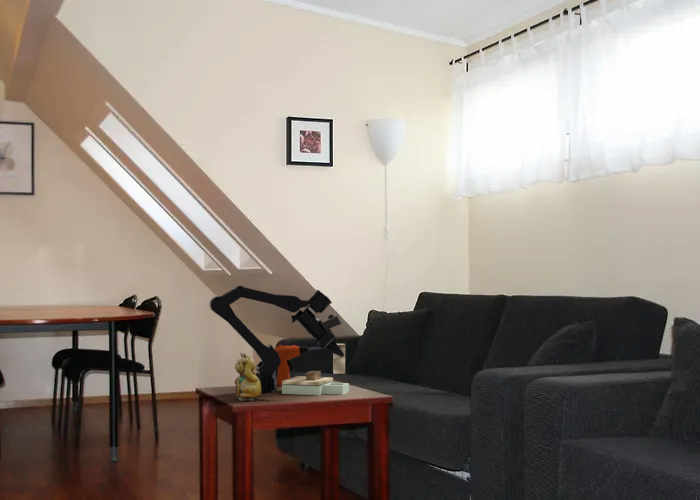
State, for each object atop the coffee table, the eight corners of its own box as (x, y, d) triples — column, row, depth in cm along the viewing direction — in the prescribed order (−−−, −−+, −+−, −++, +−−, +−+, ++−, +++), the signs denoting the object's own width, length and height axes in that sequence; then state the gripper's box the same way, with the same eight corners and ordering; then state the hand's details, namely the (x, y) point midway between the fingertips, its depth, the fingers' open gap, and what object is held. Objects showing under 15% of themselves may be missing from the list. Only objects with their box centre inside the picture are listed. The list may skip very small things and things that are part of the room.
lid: (282, 384, 279) (282, 373, 279) (297, 379, 293) (297, 368, 293) (319, 385, 275) (319, 374, 276) (333, 380, 289) (333, 369, 289)
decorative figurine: (231, 398, 276) (231, 351, 276) (256, 396, 279) (256, 350, 280) (240, 402, 267) (240, 354, 268) (265, 400, 271) (265, 353, 271)
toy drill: (326, 381, 308) (320, 340, 308) (274, 388, 307) (268, 347, 307) (325, 379, 312) (320, 339, 313) (274, 386, 312) (269, 345, 312)
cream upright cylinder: (333, 373, 293) (333, 344, 294) (333, 372, 298) (333, 343, 298) (345, 373, 294) (345, 344, 294) (344, 372, 298) (344, 343, 298)
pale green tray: (282, 396, 279) (282, 384, 279) (297, 391, 293) (297, 379, 293) (339, 398, 273) (339, 387, 274) (352, 393, 287) (351, 381, 287)
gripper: (328, 308, 287) (361, 341, 287) (327, 306, 305) (357, 337, 306) (305, 331, 286) (337, 364, 286) (305, 328, 305) (335, 359, 305)
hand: (343, 355), depth 296 cm, fingers closed on cream upright cylinder, 4 cm apart
